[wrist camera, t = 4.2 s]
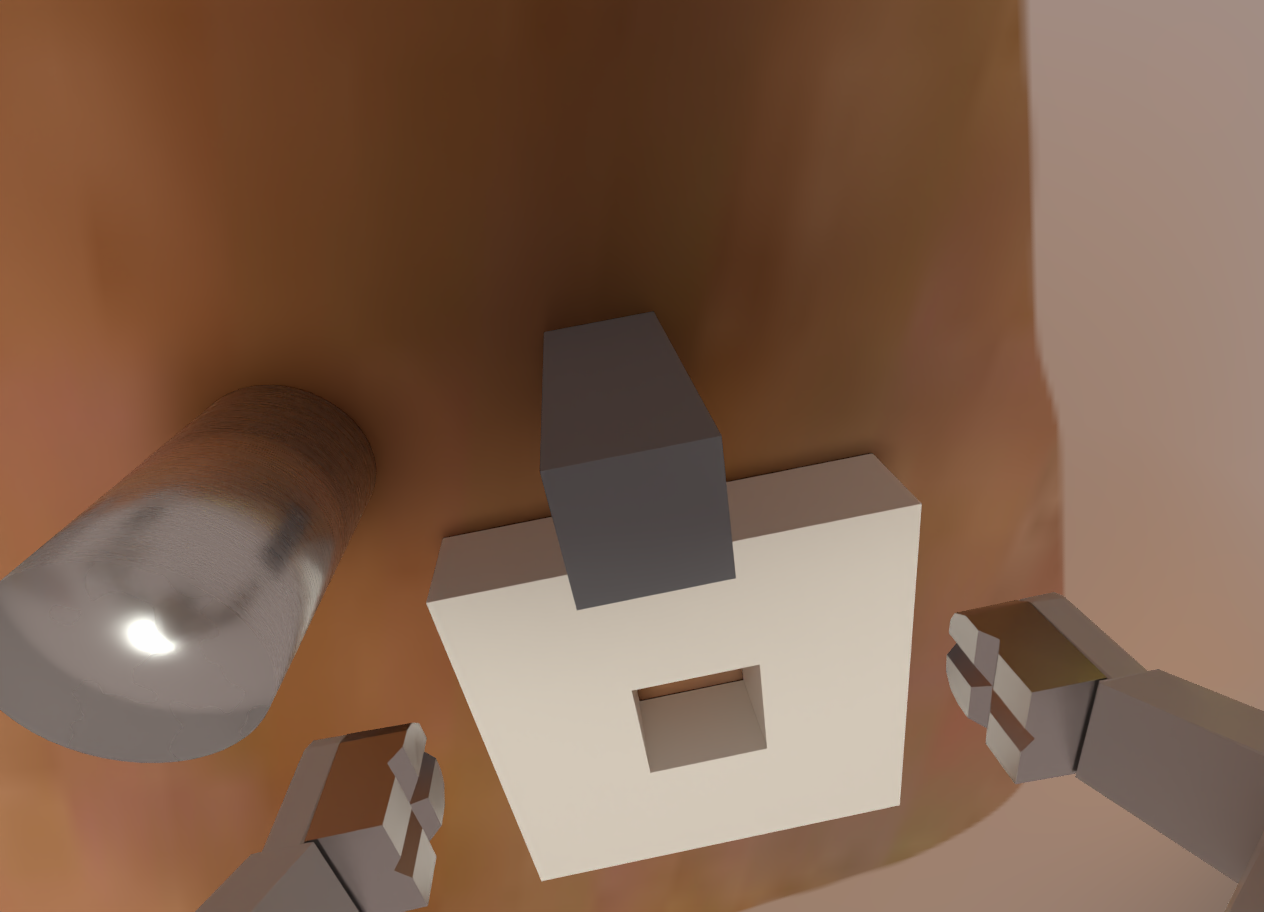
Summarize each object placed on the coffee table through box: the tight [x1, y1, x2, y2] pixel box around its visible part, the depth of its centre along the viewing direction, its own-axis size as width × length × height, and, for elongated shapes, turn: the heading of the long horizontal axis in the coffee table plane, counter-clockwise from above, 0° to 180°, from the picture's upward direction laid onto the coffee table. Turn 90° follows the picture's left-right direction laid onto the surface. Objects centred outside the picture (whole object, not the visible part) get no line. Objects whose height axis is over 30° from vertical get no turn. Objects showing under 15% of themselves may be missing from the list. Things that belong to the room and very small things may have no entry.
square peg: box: [540, 311, 736, 610], centre depth 17 cm, size 4×4×9 cm
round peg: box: [0, 385, 376, 763], centre depth 17 cm, size 6×6×9 cm
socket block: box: [426, 453, 922, 881], centre depth 25 cm, size 16×16×4 cm
